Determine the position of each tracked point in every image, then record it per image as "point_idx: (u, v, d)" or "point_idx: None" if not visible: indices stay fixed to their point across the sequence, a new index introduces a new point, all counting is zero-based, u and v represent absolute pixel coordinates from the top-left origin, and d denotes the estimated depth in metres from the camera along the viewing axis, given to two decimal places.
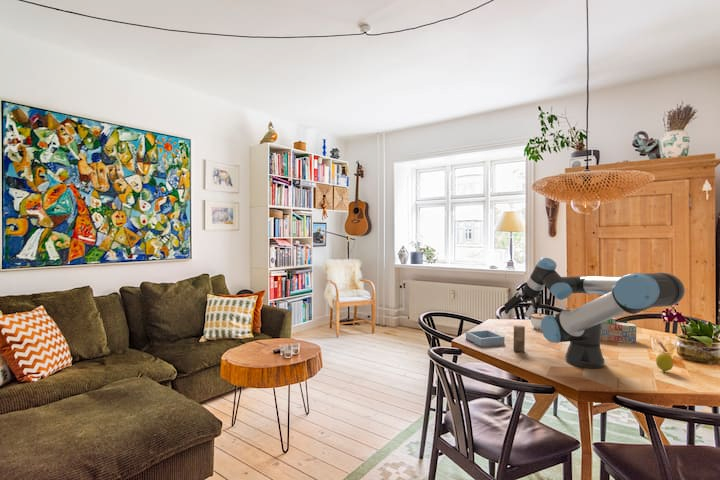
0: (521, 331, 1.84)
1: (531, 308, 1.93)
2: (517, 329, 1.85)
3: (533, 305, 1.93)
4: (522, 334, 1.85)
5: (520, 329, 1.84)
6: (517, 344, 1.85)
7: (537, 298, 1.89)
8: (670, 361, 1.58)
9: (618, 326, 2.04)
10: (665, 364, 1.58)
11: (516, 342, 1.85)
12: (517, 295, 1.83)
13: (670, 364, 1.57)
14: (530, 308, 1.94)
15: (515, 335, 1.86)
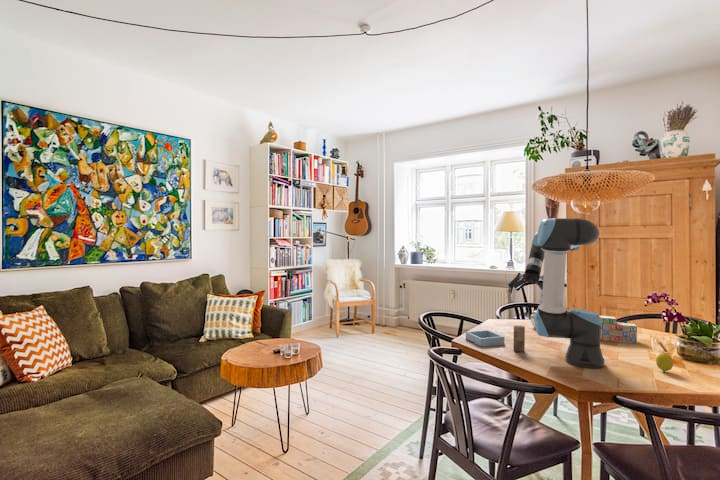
0: (521, 331, 1.84)
1: None
2: (517, 329, 1.85)
3: (543, 290, 1.94)
4: (522, 334, 1.85)
5: (520, 329, 1.84)
6: (517, 344, 1.85)
7: None
8: (670, 361, 1.58)
9: (619, 326, 2.03)
10: (665, 364, 1.58)
11: (516, 342, 1.85)
12: None
13: (670, 364, 1.57)
14: None
15: (515, 335, 1.86)
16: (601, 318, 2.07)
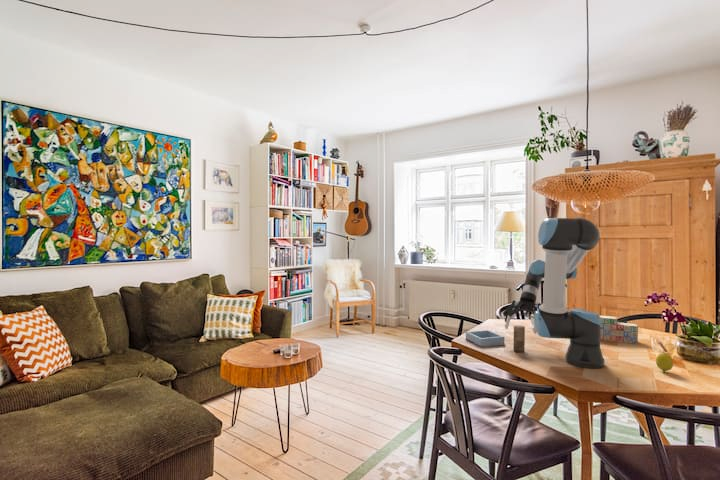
0: (521, 331, 1.84)
1: None
2: (517, 329, 1.85)
3: None
4: (522, 334, 1.85)
5: (520, 329, 1.84)
6: (517, 344, 1.85)
7: None
8: (670, 361, 1.58)
9: (620, 326, 2.03)
10: (665, 364, 1.58)
11: (516, 342, 1.85)
12: None
13: (670, 364, 1.57)
14: None
15: (515, 335, 1.86)
16: (602, 318, 2.06)
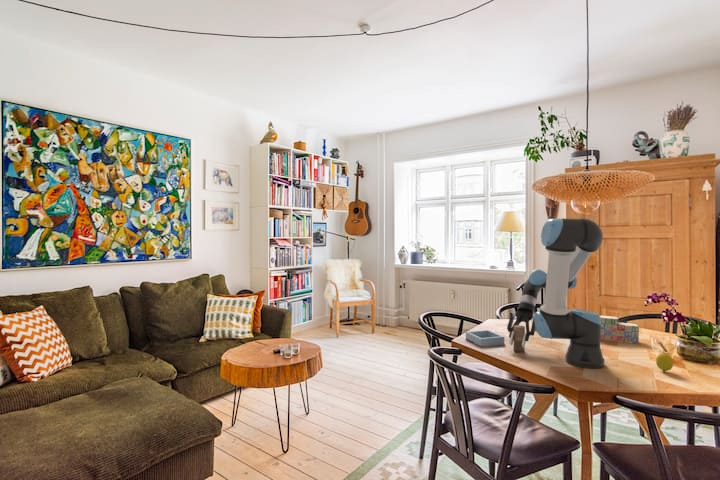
0: (521, 331, 1.84)
1: None
2: (517, 329, 1.85)
3: None
4: (522, 334, 1.85)
5: (520, 329, 1.84)
6: (517, 344, 1.85)
7: None
8: (670, 361, 1.58)
9: (621, 326, 2.03)
10: (665, 364, 1.58)
11: (516, 342, 1.85)
12: None
13: (670, 364, 1.57)
14: None
15: (515, 335, 1.86)
16: (603, 318, 2.06)
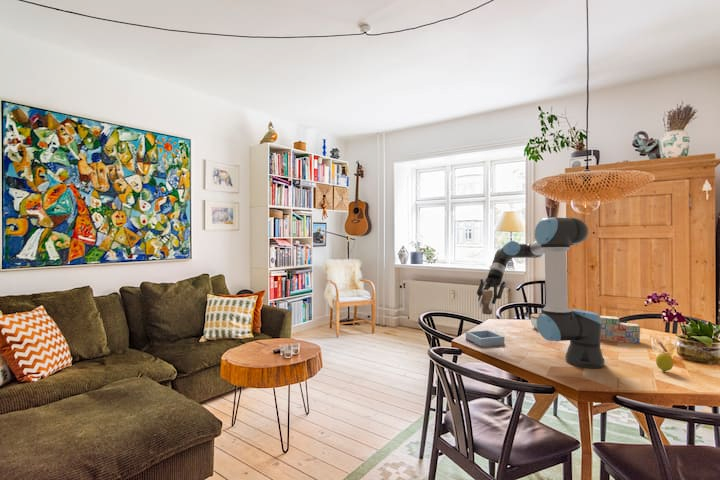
0: (489, 294, 1.99)
1: None
2: (485, 293, 1.99)
3: None
4: (490, 297, 1.99)
5: (488, 293, 1.99)
6: (485, 306, 2.00)
7: None
8: (670, 361, 1.58)
9: (622, 326, 2.03)
10: (665, 364, 1.58)
11: (484, 305, 2.00)
12: (481, 282, 2.11)
13: (670, 364, 1.57)
14: None
15: (483, 298, 2.00)
16: (604, 318, 2.06)
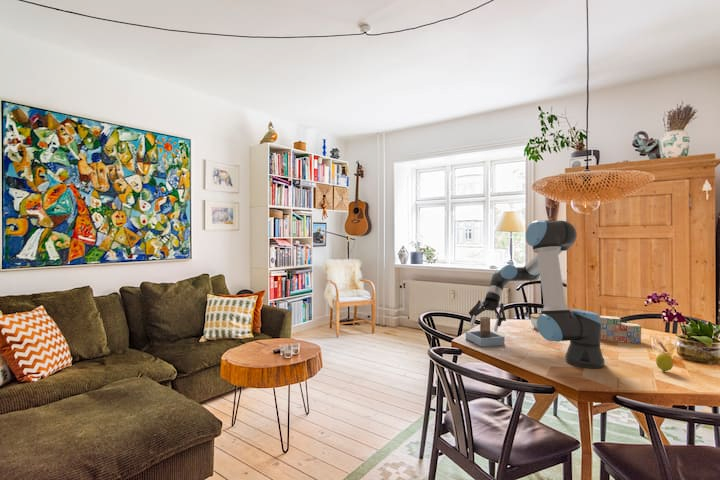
0: (486, 322, 2.00)
1: None
2: (483, 320, 2.00)
3: None
4: (487, 325, 2.00)
5: (485, 320, 2.00)
6: (483, 334, 2.00)
7: (501, 310, 2.03)
8: (670, 361, 1.58)
9: (623, 326, 2.03)
10: (665, 364, 1.58)
11: (482, 332, 2.01)
12: None
13: (670, 364, 1.57)
14: None
15: (481, 326, 2.01)
16: (605, 318, 2.06)
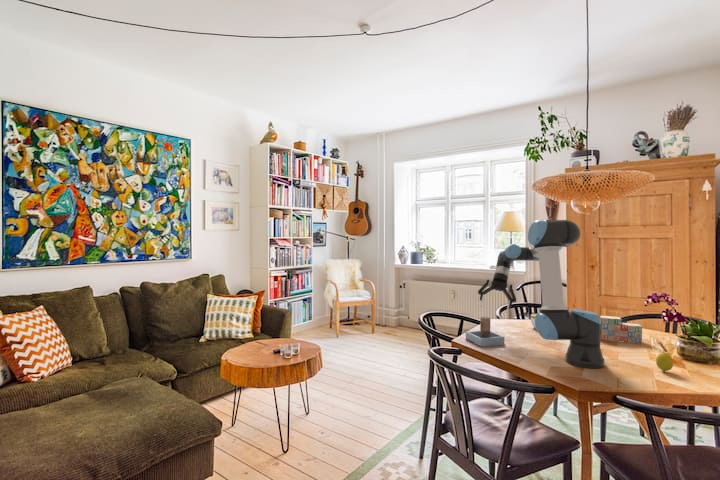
0: (487, 322, 2.00)
1: (508, 302, 2.09)
2: (483, 320, 2.00)
3: None
4: (487, 325, 2.00)
5: (486, 320, 2.00)
6: (483, 334, 2.00)
7: (510, 292, 2.12)
8: (670, 361, 1.58)
9: (624, 326, 2.03)
10: (665, 364, 1.58)
11: (482, 333, 2.01)
12: None
13: (670, 364, 1.57)
14: None
15: (481, 326, 2.01)
16: (606, 319, 2.06)
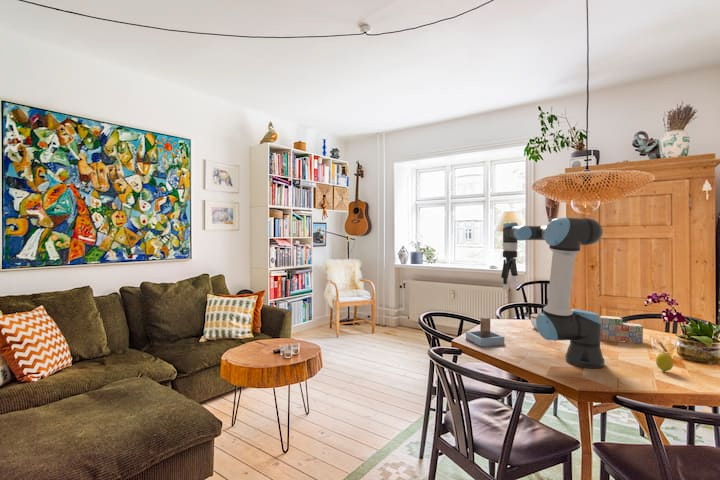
0: (487, 322, 2.00)
1: (513, 277, 2.17)
2: (483, 320, 2.00)
3: (512, 274, 2.18)
4: (487, 325, 2.00)
5: (486, 320, 2.00)
6: (483, 334, 2.00)
7: None
8: (670, 361, 1.58)
9: (625, 326, 2.03)
10: (665, 364, 1.58)
11: (482, 333, 2.01)
12: (506, 261, 2.06)
13: (670, 364, 1.57)
14: (512, 278, 2.17)
15: (481, 326, 2.01)
16: (607, 319, 2.05)
